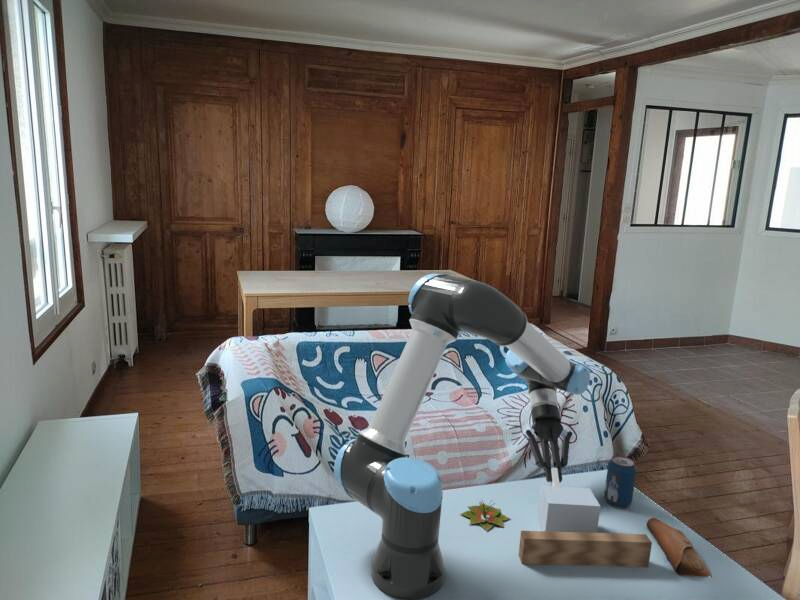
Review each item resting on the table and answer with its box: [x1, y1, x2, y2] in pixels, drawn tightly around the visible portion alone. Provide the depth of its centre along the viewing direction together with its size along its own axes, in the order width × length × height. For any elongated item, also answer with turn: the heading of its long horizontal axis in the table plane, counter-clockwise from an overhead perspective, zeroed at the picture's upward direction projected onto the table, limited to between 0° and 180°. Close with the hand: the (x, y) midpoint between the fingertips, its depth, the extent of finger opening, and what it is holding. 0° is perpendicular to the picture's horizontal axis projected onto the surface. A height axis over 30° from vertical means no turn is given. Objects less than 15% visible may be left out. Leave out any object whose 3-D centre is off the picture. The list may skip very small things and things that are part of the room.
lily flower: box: [460, 499, 511, 532], centre depth 141 cm, size 12×12×5 cm
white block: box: [536, 485, 601, 533], centre depth 137 cm, size 12×8×9 cm, turn 89°
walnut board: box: [518, 530, 653, 568], centre depth 126 cm, size 28×3×6 cm, turn 92°
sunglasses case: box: [645, 517, 712, 578], centre depth 132 cm, size 18×7×7 cm, turn 177°
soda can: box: [603, 455, 637, 509], centre depth 150 cm, size 7×7×12 cm
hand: (556, 494), depth 146 cm, fingers closed
